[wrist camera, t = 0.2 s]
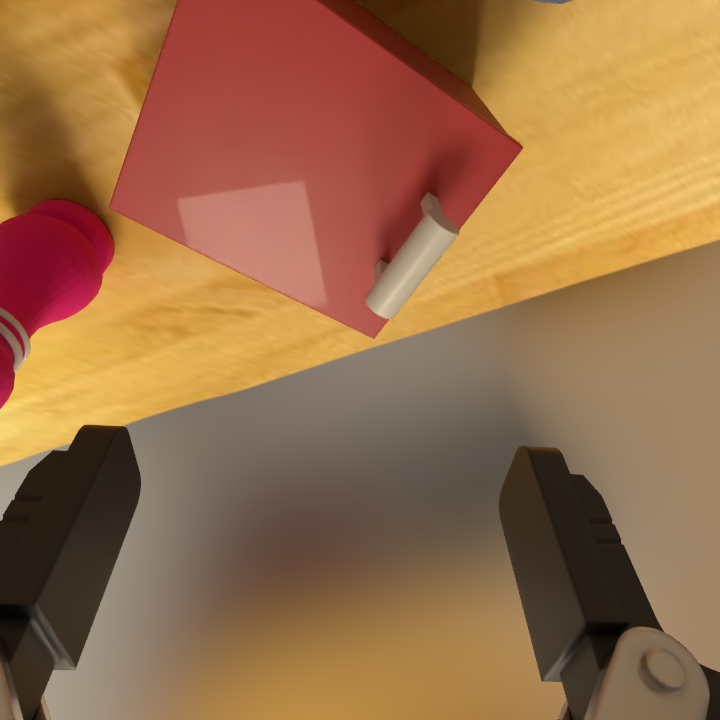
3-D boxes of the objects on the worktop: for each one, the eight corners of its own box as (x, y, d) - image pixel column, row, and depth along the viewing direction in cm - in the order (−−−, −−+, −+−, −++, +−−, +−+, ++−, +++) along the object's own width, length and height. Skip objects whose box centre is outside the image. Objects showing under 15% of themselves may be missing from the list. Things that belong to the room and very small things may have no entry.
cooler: (472, 88, 34) (507, 133, 26) (360, 253, 41) (363, 326, 33) (247, -78, 29) (209, -82, 21) (164, 144, 36) (113, 201, 28)
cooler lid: (520, 142, 26) (550, 180, 22) (373, 332, 34) (376, 386, 30) (209, -82, 21) (175, -85, 17) (113, 202, 28) (73, 247, 24)
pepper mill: (86, 296, 43) (-64, 500, 28) (0, 231, 40) (-227, 425, 24) (141, 244, 40) (9, 440, 25) (54, 170, 37) (-164, 345, 21)
